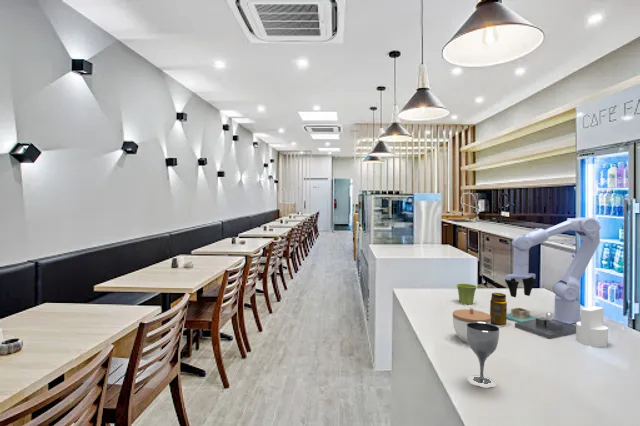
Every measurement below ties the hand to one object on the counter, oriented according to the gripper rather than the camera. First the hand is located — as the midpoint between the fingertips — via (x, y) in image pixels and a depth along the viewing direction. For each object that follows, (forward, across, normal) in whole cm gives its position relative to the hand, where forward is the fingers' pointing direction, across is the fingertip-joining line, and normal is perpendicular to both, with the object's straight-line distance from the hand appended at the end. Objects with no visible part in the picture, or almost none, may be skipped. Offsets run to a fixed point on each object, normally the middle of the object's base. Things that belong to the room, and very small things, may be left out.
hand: (520, 296), depth 158 cm
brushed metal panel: (+9, -2, -15) cm, 18 cm away
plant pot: (+10, -5, +27) cm, 29 cm away
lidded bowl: (+10, -39, -15) cm, 43 cm away
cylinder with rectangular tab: (+10, 0, -30) cm, 31 cm away
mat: (+9, -1, -1) cm, 9 cm away
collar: (+9, -1, -1) cm, 9 cm away
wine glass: (+10, -58, -42) cm, 73 cm away
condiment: (+10, -16, -3) cm, 19 cm away
